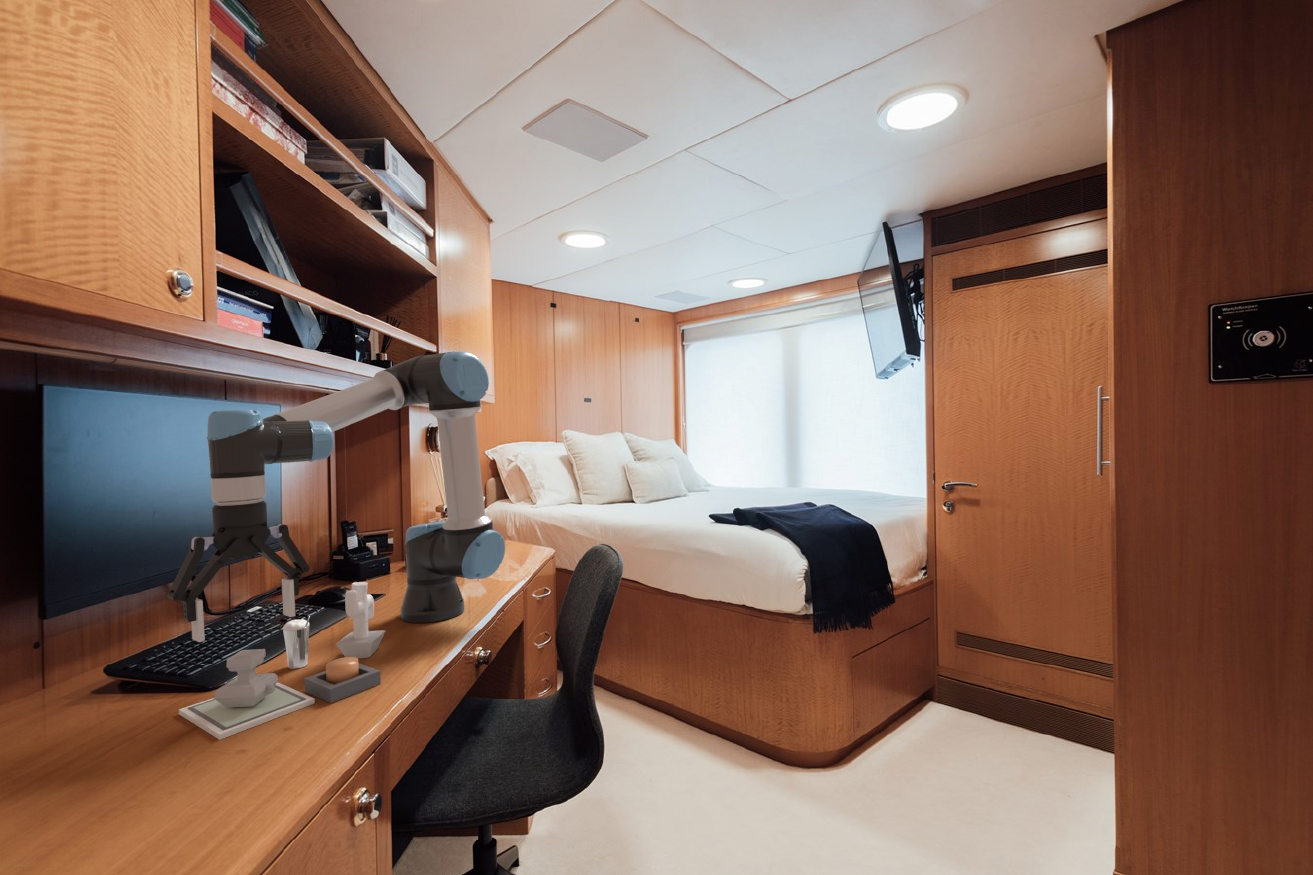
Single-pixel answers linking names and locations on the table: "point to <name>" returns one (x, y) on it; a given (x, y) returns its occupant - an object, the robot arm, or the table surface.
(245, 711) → the board
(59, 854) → the table surface
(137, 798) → the table surface
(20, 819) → the table surface
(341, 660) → the button
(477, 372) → the robot arm
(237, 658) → the stamp
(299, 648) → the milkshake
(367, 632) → the figurine
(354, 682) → the button housing
